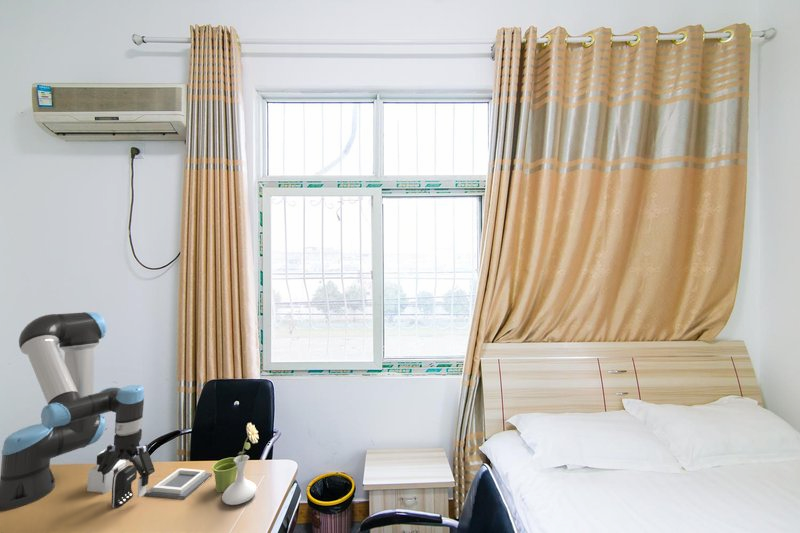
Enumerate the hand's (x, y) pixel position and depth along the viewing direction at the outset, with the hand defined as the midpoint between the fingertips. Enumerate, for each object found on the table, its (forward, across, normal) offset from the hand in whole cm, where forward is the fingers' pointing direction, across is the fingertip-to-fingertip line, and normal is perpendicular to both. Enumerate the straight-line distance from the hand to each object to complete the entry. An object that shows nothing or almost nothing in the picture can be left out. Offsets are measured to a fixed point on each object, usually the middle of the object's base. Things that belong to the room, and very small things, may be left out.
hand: (124, 493), depth 112 cm
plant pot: (+3, +30, +12) cm, 32 cm away
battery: (+3, 0, 0) cm, 3 cm away
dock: (+3, +12, +11) cm, 16 cm away
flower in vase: (+3, +39, +8) cm, 40 cm away
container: (+3, -15, +7) cm, 17 cm away
